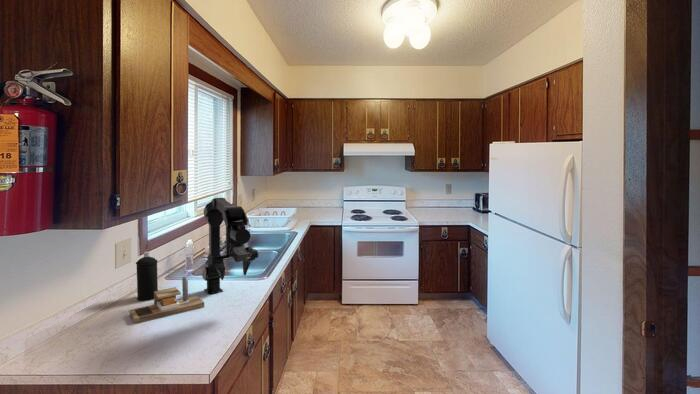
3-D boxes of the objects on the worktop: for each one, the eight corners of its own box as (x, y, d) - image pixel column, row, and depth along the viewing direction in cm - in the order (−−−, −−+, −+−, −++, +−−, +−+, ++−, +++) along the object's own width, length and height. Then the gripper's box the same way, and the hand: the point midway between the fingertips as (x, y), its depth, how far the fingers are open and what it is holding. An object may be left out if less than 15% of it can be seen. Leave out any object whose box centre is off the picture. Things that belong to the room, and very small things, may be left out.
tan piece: (129, 314, 139) (128, 295, 138) (196, 299, 155) (196, 282, 155) (134, 323, 132) (133, 303, 131) (204, 307, 148) (204, 289, 147)
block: (161, 305, 143) (161, 296, 143) (172, 303, 146) (171, 293, 146) (164, 309, 140) (163, 299, 140) (175, 306, 143) (174, 296, 143)
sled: (156, 305, 144) (156, 279, 142) (185, 299, 151) (185, 274, 150) (161, 310, 139) (160, 284, 138) (190, 304, 146) (190, 279, 145)
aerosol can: (157, 299, 154) (156, 254, 152) (135, 302, 151) (133, 255, 149) (159, 293, 162) (158, 249, 160) (138, 295, 159) (137, 250, 157)
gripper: (218, 246, 129) (218, 288, 131) (265, 239, 141) (265, 278, 143) (206, 240, 137) (206, 280, 139) (252, 234, 149) (251, 271, 151)
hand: (233, 277), depth 143 cm, fingers open, 9 cm apart
